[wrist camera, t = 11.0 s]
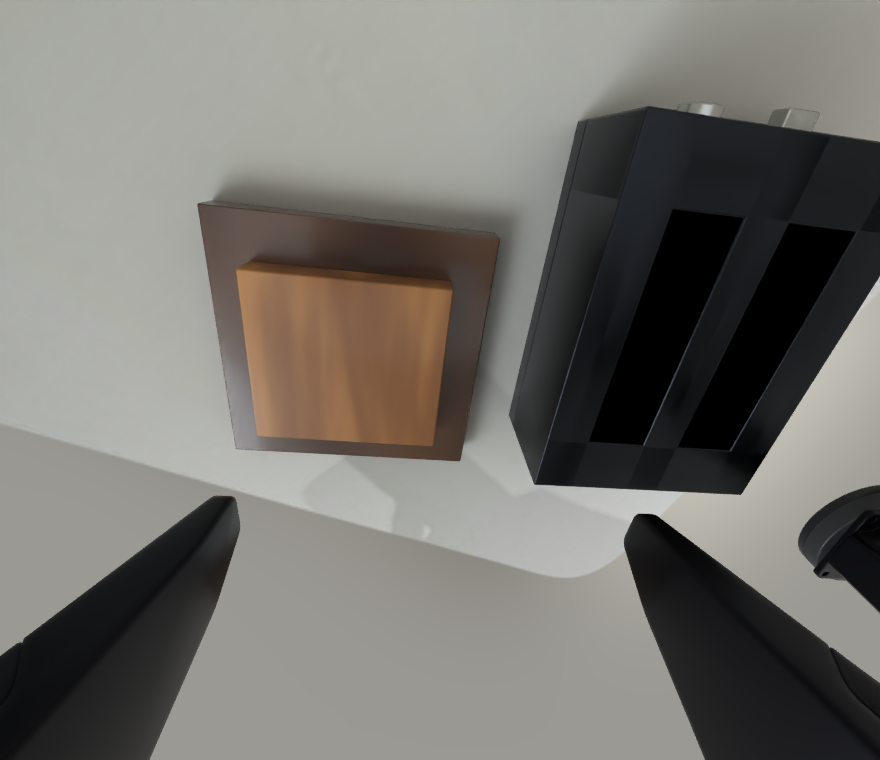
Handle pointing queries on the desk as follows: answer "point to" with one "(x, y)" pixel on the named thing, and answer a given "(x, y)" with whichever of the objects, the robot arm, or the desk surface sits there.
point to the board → (359, 250)
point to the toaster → (691, 294)
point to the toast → (344, 352)
